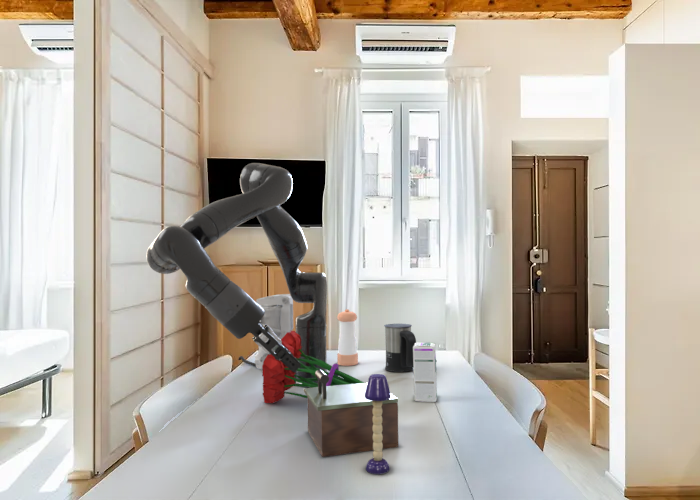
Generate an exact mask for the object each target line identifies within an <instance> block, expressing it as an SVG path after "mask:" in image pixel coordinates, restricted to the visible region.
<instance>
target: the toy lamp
mask: <svg viewBox="0 0 700 500" xmlns="http://www.w3.org/2000/svg"><path fill="white" fill-rule="evenodd" d="M367 383H368V384H367V388H366V392H365V398H366V399H368V400H371V401H373V402H372V403H373V415H374V416H373V432H374V433H373V441H374V442H373V450H372V457H371V458H370V459H369V460H368V461H367V462H366V466H365V471H366V472H368V473H369V474H372V475H384V474H387V473H389V471H390V470H391V468H390V465H389V463H388V461H387V459H385V458H383V457H384V452H383V449H382V448H383V444H382V439H383V436H382V416H381V415H382V407H381V406H382V401H385V400H389V399H390V398H391V394H392V393H391V391H390V386H389V381H388V378H387V375H385V374H382V373H372V374H370V375H369V377H368V381H367ZM390 393H391V394H390Z"/></svg>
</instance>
